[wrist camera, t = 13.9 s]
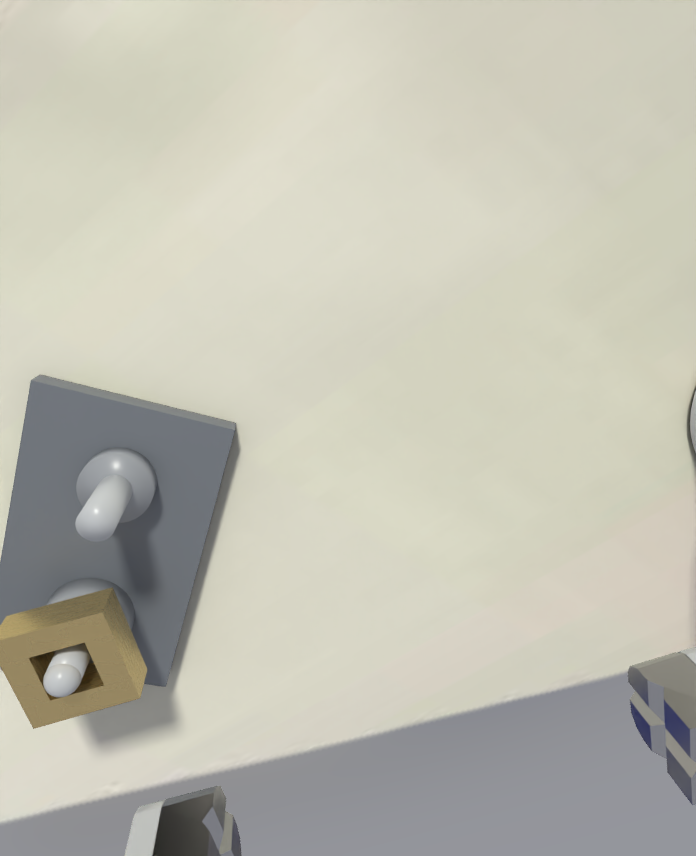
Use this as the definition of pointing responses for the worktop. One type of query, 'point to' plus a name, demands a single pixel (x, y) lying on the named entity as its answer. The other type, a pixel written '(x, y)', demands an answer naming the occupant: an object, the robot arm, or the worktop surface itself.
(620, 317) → the worktop surface
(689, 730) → the robot arm
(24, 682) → the tan square ring
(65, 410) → the mount board
